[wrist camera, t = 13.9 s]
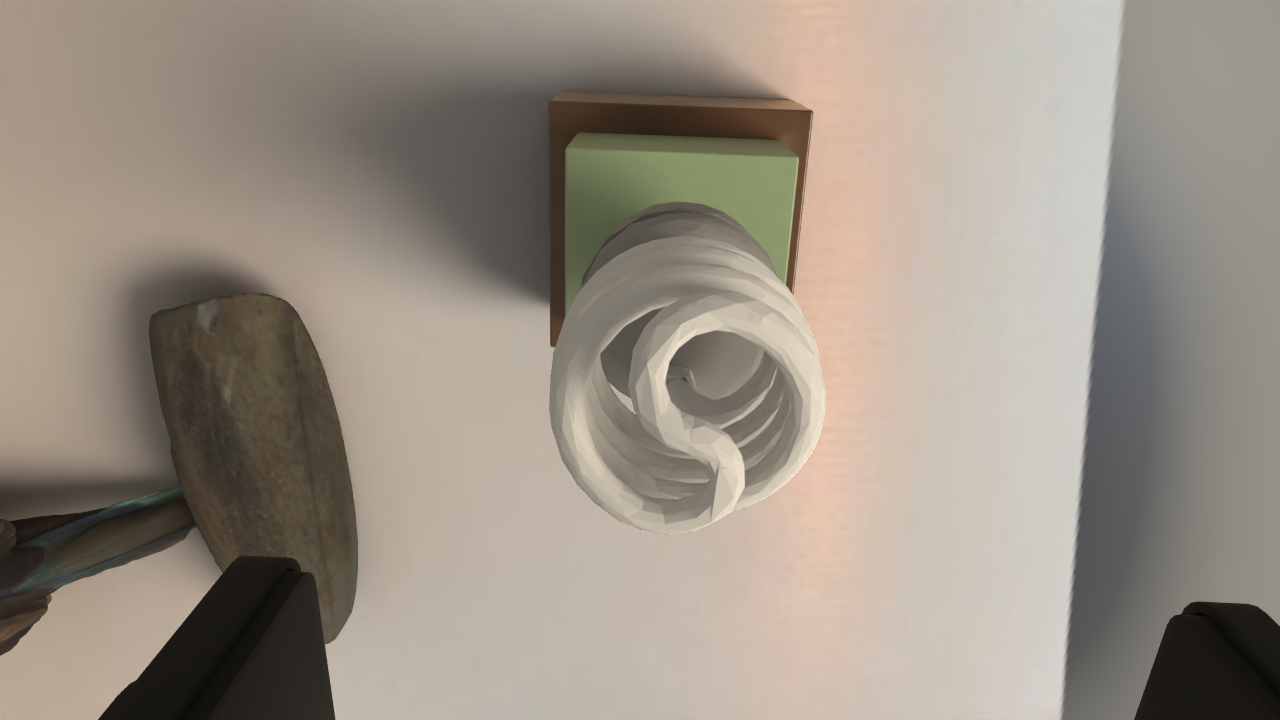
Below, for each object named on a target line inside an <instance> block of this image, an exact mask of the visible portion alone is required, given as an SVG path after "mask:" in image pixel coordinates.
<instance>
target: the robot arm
mask: <svg viewBox="0 0 1280 720" xmlns="http://www.w3.org/2000/svg"><path fill="white" fill-rule="evenodd" d="M98 720H335V714H334V707H333V700H332V693H331V686H330V679H329V671H328V664H327V657H326V650H325V643H324V636H323V629H322V622H321V615H320V608H319V600H318V593H317V586H316V581H315V577H314V576H313V574H312V573H310V572H301V568H300V565H299V563H298V562H297V560H296V559H293V558H287V557H267V556H246V555H243V556H240V557H237V558H236V559H235V560H234V561H233V562H232V563H231V564H230V565H229V567H228V568H227V569H226V570H225V572H224V573H223V574H222V575H221V576H220V578H219V579H218V580H217V581H216V583H215V584H214V585H213V586H212V588H211V589H210V590H209V591H208V593H207V594H206V595H205V596H204V597H203V599H202V600H201V601H200V602H199V604H198V605H197V606H196V607H195V609H194V610H193V611H192V612H191V614H190V615H189V616H188V617H187V618H186V620H185V621H184V622H183V623H182V625H181V626H180V627H179V628H178V630H177V631H176V632H175V633H174V635H173V636H172V637H171V638H170V639H169V641H168V642H167V643H166V644H165V646H164V647H163V648H162V649H161V651H160V652H159V653H158V654H157V655H156V657H155V658H154V659H153V660H152V662H151V663H150V664H149V665H148V667H147V668H146V669H145V670H144V672H143V673H142V674H141V675H140V676H139V678H138V679H137V680H136V681H134V682H132V683H130V684H129V685H128V686H127V687H126V688H125V689H124V690H123V691H122V692H121V693H120V694H119V695H118V696H117V697H116V698H115V700H114V701H113V702H112V703H111V704H110V706H109V707H108V708H107V709H106V711H105V712H104V713H103V714H102V715H101V717H100V718H99V719H98ZM1134 720H1280V626H1279V625H1278V624H1277V623H1276V622H1275V621H1274V620H1273V619H1272V618H1271V617H1269V615H1268V614H1266V613H1265V612H1264V611H1262V610H1261V609H1260V608H1259V607H1257V606H1253V605H1250V604H1238V603H1217V602H1193V603H1190V604H1189V605H1188V606H1187V607H1185V608H1184V610H1183V612H1182V614H1180V615H1175V616H1174V617H1172V618H1171V619H1170V621H1169V623H1168V624H1167V627H1166V630H1165V633H1164V635H1163V638H1162V641H1161V644H1160V647H1159V650H1158V653H1157V655H1156V658H1155V661H1154V664H1153V667H1152V670H1151V673H1150V676H1149V679H1148V681H1147V685H1146V687H1145V690H1144V693H1143V696H1142V699H1141V702H1140V705H1139V708H1138V710H1137V713H1136V716H1135V719H1134Z"/></svg>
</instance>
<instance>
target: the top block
mask: <svg viewBox="0 0 1280 720" xmlns="http://www.w3.org/2000/svg"><path fill="white" fill-rule="evenodd" d="M798 164H799V157H798V156H797V155H796V154H795V153H794V152H793V151H792V150H791V149H790V148H788V147H787V146H786V145H785V144H784V143H783V142H782V141H781V140H770V139H743V138H717V137H691V136H665V135H639V134H612V133H586V132H579V133H577V135H576V136H575V137H574V139H573V140H572V141H571V142H570V144H569V145H568V146H567V147H566V149H565V317H566V315H567V313H568V312H569V310H570V308H571V306H572V304H573V302H574V300H575V298H576V296H577V294H578V293H579V291H580V290H581V286H582V277H583V275H584V273H585V272H586V270H587V268H588V266H589V265H590V263H591V261H592V259H593V258H594V256H595V254H596V252H597V251H598V249H599V247H600V245H601V244H602V243H603V242H604V241H605V240H606V239H607V238H608V237H609V236H610V235H611V234H612V232H613V231H614V230H615V229H616V228H617V227H618V226H619V225H620V224H621V223H622V222H623V221H624V220H625V219H626V218H628V217H630V216H632V215H634V214H636V213H638V212H640V211H642V210H644V209H646V208H648V207H650V206H651V205H654V204H661V203H669V202H676V201H678V202H689V203H699V204H704V205H707V206H710V207H712V208H715V209H717V210H720V211H723V212H725V213H726V214H727V215H729V216H730V217H732V218H733V219H734V220H736V221H737V222H739V223H740V224H741V225H742V226H743V227H744V228H745V229H746V230H747V231H748V233H749V234H750V235H751V236H752V237H753V238H754V239H755V240H756V241H757V242H758V243H759V244H760V245H761V247H762V248H763V249H764V250H765V251H766V252H767V253H768V255H769V257H770V260H771V262H772V265H773V267H774V270H775V272H776V275H777V277H778V278H779V279H780V280H781V281H782V282H783V283H784V284H785V285H786V278H787V269H788V259H789V250H790V240H791V231H792V221H793V212H794V202H795V193H796V183H797V174H798Z"/></svg>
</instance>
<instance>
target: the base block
mask: <svg viewBox="0 0 1280 720" xmlns="http://www.w3.org/2000/svg"><path fill="white" fill-rule="evenodd" d="M812 119H813V111H812V110H810V109H808V108H806V107H804V106H802V105H801V104H799V103H797V102H795V101H793V100H781V99H754V98H728V97H701V96H675V95H648V94H622V93H595V92H569V91H564V92H562V93H561V94H559V95H558V96H556V97H555V98H553V99H552V100H550V101H549V224H550V345H551V347H556V344H557V341H558V338H559V335H560V332H561V329H562V326H563V323H564V319H565V149H566V147H567V146H568V145H569V144H570V142H571V141H572V140H573V139H574V137H575V136H576V135H577V133H579V132H586V133H612V134H639V135H665V136H691V137H717V138H743V139H770V140H781V141H782V142H783V143H784V144H785V145H786V146H787V147H788V148H790V149H791V150H792V151H793V152H794V153H795V154H796V155H797V156H798V157H799V164H798V174H797V183H796V193H795V202H794V212H793V221H792V231H791V240H790V250H789V259H788V269H787V278H786V286H787V287H788V288H789V290H790V291H791V293H792V294H793V293H794V284H795V275H796V265H797V256H798V247H799V238H800V229H801V220H802V210H803V201H804V192H805V183H806V174H807V165H808V155H809V146H810V137H811V128H812Z"/></svg>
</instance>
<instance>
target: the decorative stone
mask: <svg viewBox="0 0 1280 720" xmlns="http://www.w3.org/2000/svg"><path fill="white" fill-rule="evenodd" d="M149 336H150V345H151V353H152V360H153V367H154V373H155V378H156V383H157V388H158V393H159V398H160V404H161V408H162V413H163V416H164V419H165V422H166V426H167V430H168V433H169V436H170V440H171V454H172V459H173V463H174V467H175V470H176V473H177V476H178V480H179V483H180V486H181V488H182V491H183V494H184V497H185V499H186V502H187V504H188V506H189V508H190V510H191V513H192V515H193V517H194V519H195V522H196V525H197V527H198V529H199V531H200V533H201V535H202V537H203V538H204V540H205V542H206V544H207V546H208V548H209V550H210V552H211V553H212V555H213V557H214V559H215V561H216V563H217V565H218V566H219V567H220V569H221V571H222V572H223V573H224V572H225V570H226V569H227V568H228V567H229V565H230V564H231V563H232V562H233V561H234V560H235V559H236V558H237V557H240V556H243V555H246V556H267V557H287V558H293V559H296V560H297V562H298V563H299V565H300V568H301V572H310V573H312V574H313V576H314V577H315V581H316V586H317V593H318V600H319V608H320V615H321V622H322V629H323V636H324V643H325V644H328V643H330V642H332V641H333V640H335V639H336V637H337V636H338V634H339V633H340V631H341V630H342V628H343V626H344V625H345V623H346V621H347V619H348V618H349V616H350V614H351V612H352V609H353V604H354V599H355V593H356V584H357V572H358V539H357V527H356V516H355V506H354V500H353V492H352V485H351V479H350V474H349V467H348V463H347V456H346V452H345V447H344V441H343V437H342V432H341V427H340V423H339V419H338V414H337V411H336V407H335V403H334V399H333V396H332V393H331V390H330V387H329V384H328V381H327V377H326V374H325V371H324V368H323V365H322V362H321V360H320V358H319V355H318V353H317V350H316V348H315V346H314V344H313V342H312V340H311V337H310V335H309V333H308V331H307V329H306V327H305V325H304V324H303V322H302V320H301V318H300V316H299V315H298V313H297V312H296V310H295V309H294V308H293V307H292V306H291V305H290V304H289V303H288V302H287V301H284V300H282V299H280V298H277V297H274V296H271V295H266V294H262V293H245V294H233V295H229V296H224V297H220V298H216V299H208V300H204V301H198V302H193V303H190V304H188V305H182V306H179V307H176V308H172V309H164V310H160V311H158V312H157V313H155V314H153V315H152V316H151V318H150V322H149Z"/></svg>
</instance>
